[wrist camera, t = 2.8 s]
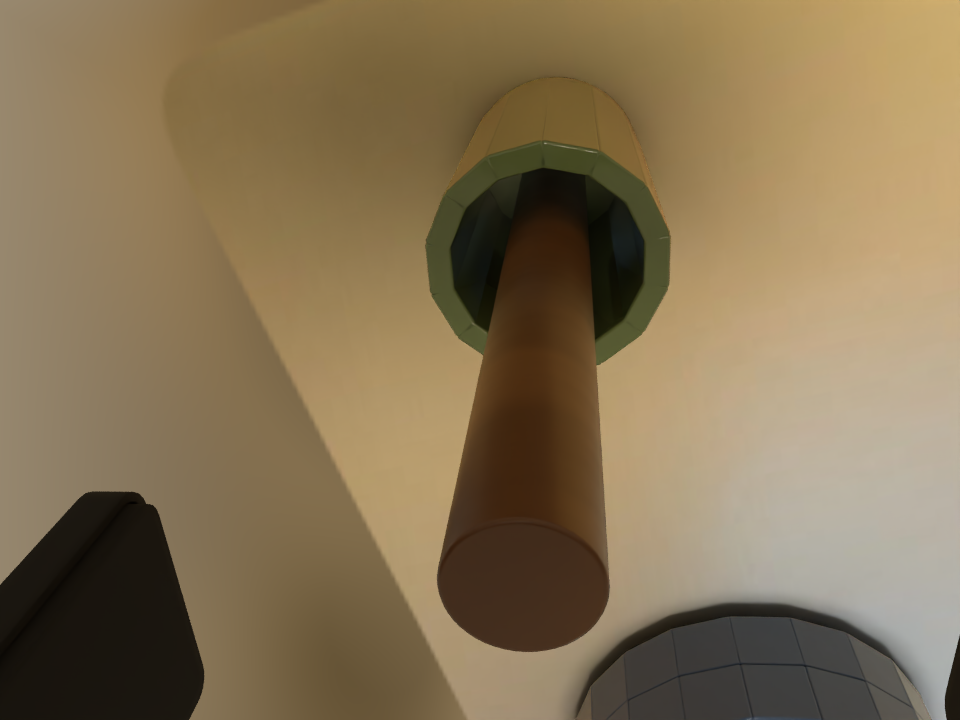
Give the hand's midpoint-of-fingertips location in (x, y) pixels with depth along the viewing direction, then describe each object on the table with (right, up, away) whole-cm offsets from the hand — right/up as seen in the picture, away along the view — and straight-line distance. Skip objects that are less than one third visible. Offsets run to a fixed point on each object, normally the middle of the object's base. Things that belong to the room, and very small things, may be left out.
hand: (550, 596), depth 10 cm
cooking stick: (+2, +9, +18) cm, 20 cm away
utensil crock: (+2, +9, +18) cm, 21 cm away
